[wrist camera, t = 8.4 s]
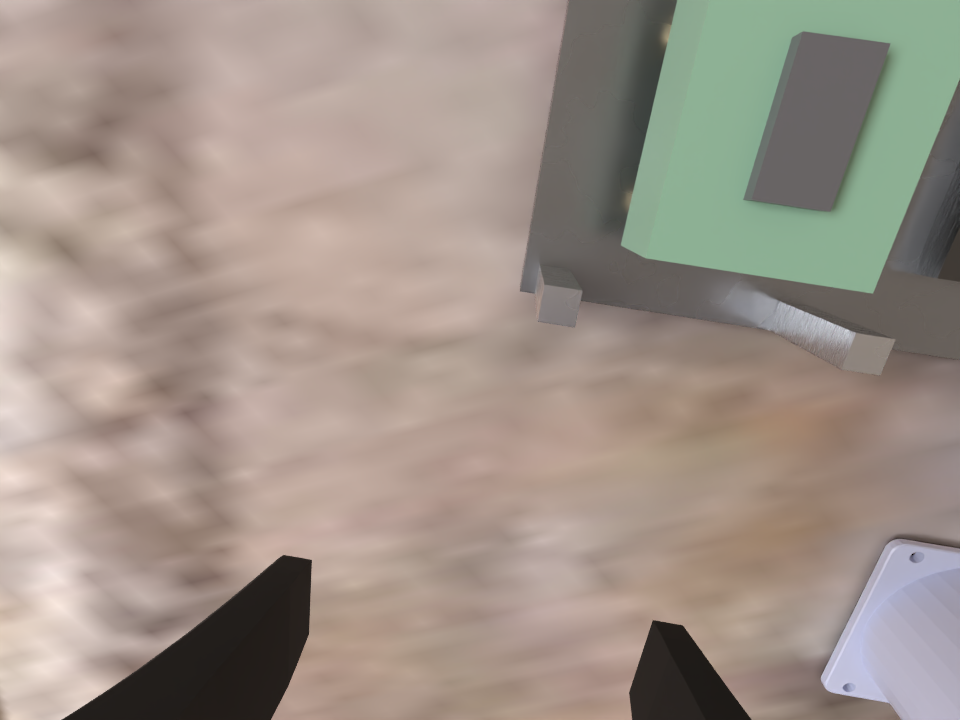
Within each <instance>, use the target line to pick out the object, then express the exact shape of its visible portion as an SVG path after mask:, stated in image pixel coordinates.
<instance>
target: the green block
mask: <svg viewBox="0 0 960 720" xmlns="http://www.w3.org/2000/svg"><path fill="white" fill-rule="evenodd" d="M959 80H960V0H677V4H676V8H675V12H674V17H673V21H672V25H671V30H670V34H669V38H668V43H667V47H666V51H665V56H664V60H663V64H662V69H661V73H660V77H659V82H658V86H657V90H656V95H655V99H654V103H653V108H652V112H651V116H650V121H649V125H648V129H647V134H646V138H645V142H644V147H643V151H642V155H641V160H640V164H639V168H638V173H637V177H636V181H635V185H634V190H633V194H632V198H631V203H630V207H629V211H628V216H627V220H626V224H625V229H624V233H623V237H622V242H621V246H623V247H625V248H627V249H629V250H631V251H633V252H634V253H636V254H638V255H640V256H642V257H644V258H647V259H653V260H660V261H666V262H673V263H679V264H686V265H692V266H698V267H705V268H711V269H718V270H724V271H731V272H737V273H744V274H750V275H756V276H763V277H769V278H776V279H782V280H789V281H795V282H802V283H808V284H814V285H821V286H827V287H834V288H840V289H847V290H853V291H860V292H866V293H872V294H873V292H874V290H875V287H876V285H877V282H878V280H879V277H880V275H881V272H882V270H883V267H884V265H885V262H886V260H887V257H888V255H889V252H890V250H891V248H892V245H893V243H894V240H895V238H896V235H897V233H898V230H899V228H900V225H901V223H902V220H903V218H904V215H905V213H906V210H907V208H908V206H909V203H910V201H911V198H912V196H913V193H914V191H915V188H916V186H917V183H918V181H919V178H920V176H921V173H922V171H923V169H924V166H925V164H926V161H927V159H928V156H929V154H930V151H931V149H932V146H933V144H934V141H935V139H936V136H937V134H938V131H939V129H940V127H941V124H942V122H943V119H944V117H945V114H946V112H947V109H948V107H949V104H950V102H951V99H952V97H953V94H954V92H955V89H956V87H957V85H958V82H959Z"/></svg>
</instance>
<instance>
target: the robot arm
mask: <svg viewBox="0 0 960 720" xmlns="http://www.w3.org/2000/svg"><path fill="white" fill-rule="evenodd" d="M915 552H916V553H915ZM913 553H915V554H914V555H912V554H913ZM911 555H912V556H911ZM311 565H312V560H309V559H303V558H298V557H292V556H286V555H283V556H282V557H280V558H278V559H277V560H276V561H275V562H274V563H273V564H271V565H270V566H269V567H268V568H267V569H265V570H264V571H263V572H262V573H261V574H260V575H258V576H257V577H256V578H255V579H254V580H252V581H251V582H250V583H249V584H248V585H247V586H245V587H244V588H243V589H242V590H241V591H239V592H238V593H237V594H236V595H235V596H233V597H232V598H231V599H230V600H228V601H227V602H226V603H225V604H224V605H222V606H221V607H220V608H219V609H217V610H216V611H215V612H214V613H212V614H211V615H210V616H208V617H207V618H206V619H205V620H203V621H202V622H201V623H200V624H198V625H197V626H196V627H195V628H193V629H192V630H191V631H190V632H188V633H187V634H186V635H184V636H183V637H182V638H180V639H179V640H178V641H176V642H175V643H174V644H172V645H171V646H169V647H168V648H167V649H165V650H164V651H163V652H161V653H160V654H159V655H157V656H156V657H154V658H153V659H152V660H150V661H149V662H148V663H146V664H145V665H143V666H142V667H141V668H139V669H138V670H137V671H135V672H134V673H132V674H131V675H129V676H128V677H126V678H125V679H123V680H122V681H121V682H119V683H118V684H116V685H115V686H113V687H112V688H110V689H109V690H107V691H106V692H104V693H103V694H101V695H100V696H98V697H97V698H95V699H93V700H92V701H90V702H89V703H87V704H86V705H84V706H83V707H81V708H80V709H78V710H76V711H75V712H73V713H72V714H70V715H69V716H67V717H65V718H64V719H62V720H271V718H272V716H273V714H274V713H275V711H276V709H277V707H278V705H279V703H280V701H281V699H282V697H283V695H284V693H285V691H286V689H287V687H288V685H289V683H290V680H291V678H292V675H293V673H294V670H295V668H296V666H297V663H298V661H299V658H300V656H301V653H302V650H303V648H304V645H305V643H306V640H307V638H308V635H309V617H310V591H311ZM821 681H822V683H823V685H824V687H825V688H826V689H827V690H828V691H829V692H832V693H837V694H843V695H848V696H854V697H859V698H865V699H871V700H876V701H882V702H887V703H890V704H891V706H892V707H893V708H894V710H895V711H896V712H897V714H898V715H899V717H900V718H901V719H902V720H960V549H959V548H953V547H947V546H941V545H935V544H929V543H923V542H918V541H912V540H906V539H896V540H892V541H890V542H889V543H888V544H887V545H886V546H885V548H884V550H883V552H882V554H881V556H880V558H879V560H878V562H877V564H876V566H875V568H874V570H873V572H872V574H871V576H870V578H869V580H868V582H867V584H866V587H865V589H864V591H863V593H862V595H861V597H860V599H859V601H858V603H857V605H856V607H855V609H854V611H853V613H852V615H851V617H850V619H849V621H848V623H847V625H846V627H845V629H844V631H843V633H842V635H841V637H840V639H839V641H838V643H837V645H836V647H835V649H834V651H833V654H832V656H831V658H830V660H829V662H828V664H827V666H826V668H825V670H824V672H823V674H822V676H821ZM629 694H630V703H631V712H632V720H751V718H750V717H749V716H748V714H747V713H746V712H745V710H744V709H743V708H742V706H741V705H740V704H739V702H738V701H737V700H736V698H735V697H734V696H733V694H732V693H731V692H730V690H729V689H728V687H727V686H726V685H725V683H724V682H723V681H722V679H721V678H720V676H719V675H718V674H717V672H716V671H715V670H714V668H713V667H712V665H711V664H710V663H709V661H708V660H707V658H706V657H705V656H704V654H703V653H702V651H701V650H700V649H699V647H698V646H697V644H696V643H695V642H694V640H693V639H692V638H691V636H690V635H689V633H688V632H687V631H686V629H685V628H684V627H683V625H677V624H671V623H666V622H660V621H654V620H653V622H652V625H651V628H650V631H649V634H648V637H647V640H646V643H645V646H644V649H643V652H642V655H641V658H640V661H639V664H638V667H637V671H636V674H635V677H634V680H633V683H632V686H631V689H630V692H629Z"/></svg>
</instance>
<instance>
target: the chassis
mask: <svg viewBox="0 0 960 720" xmlns="http://www.w3.org/2000/svg"><path fill="white" fill-rule="evenodd" d="M676 4H677V0H568V6H567V12H566V18H565V23H564V29H563V35H562V41H561V47H560V53H559V59H558V65H557V71H556V77H555V83H554V89H553V95H552V101H551V107H550V112H549V118H548V124H547V130H546V136H545V142H544V148H543V154H542V160H541V166H540V172H539V178H538V184H537V190H536V195H535V201H534V207H533V213H532V219H531V225H530V231H529V237H528V243H527V249H526V255H525V261H524V267H523V273H522V279H521V284H520V291H522V292H528V293H534V294H535V303H536V312H537V321H538V322H543V323H549V324H556V325H562V326H568V327H575V325H576V320H577V315H578V310H579V306H580V301H586V302H592V303H598V304H605V305H611V306H618V307H624V308H630V309H637V310H643V311H650V312H656V313H663V314H669V315H675V316H682V317H688V318H695V319H701V320H707V321H714V322H720V323H727V324H733V325H739V326H746V327H752V328H759V329H765V330H770V331H772V332H774V333H776V334H777V335H779V336H781V337H783V338H785V339H787V340H788V341H790V342H792V343H794V344H796V345H797V346H799V347H801V348H803V349H805V350H807V351H808V352H810V353H812V354H814V355H816V356H817V357H819V358H821V359H823V360H825V361H827V362H828V363H830V364H832V365H834V366H836V367H837V368H839V369H841V370H847V371H853V372H860V373H866V374H872V375H879V376H880V375H881V372H882V370H883V368H884V366H885V363H886V361H887V359H888V356H889V354H890V352H891V349H893V350H900V351H906V352H912V353H919V354H925V355H932V356H938V357H945V358H951V359H957V360H960V80H959V82H958V85H957V87H956V89H955V92H954V94H953V97H952V99H951V102H950V104H949V107H948V109H947V112H946V114H945V117H944V119H943V122H942V124H941V127H940V129H939V131H938V134H937V136H936V139H935V141H934V144H933V146H932V149H931V151H930V154H929V156H928V159H927V161H926V164H925V166H924V169H923V171H922V173H921V176H920V178H919V181H918V183H917V186H916V188H915V191H914V193H913V196H912V198H911V201H910V203H909V206H908V208H907V210H906V213H905V215H904V218H903V220H902V223H901V225H900V228H899V230H898V233H897V235H896V238H895V240H894V243H893V245H892V248H891V250H890V252H889V255H888V257H887V260H886V262H885V265H884V267H883V270H882V272H881V275H880V277H879V280H878V282H877V285H876V287H875V290H874V292H873V294H872V293H866V292H860V291H853V290H847V289H840V288H834V287H827V286H821V285H814V284H808V283H802V282H795V281H789V280H782V279H776V278H769V277H763V276H756V275H750V274H744V273H737V272H731V271H724V270H718V269H711V268H705V267H698V266H692V265H686V264H679V263H673V262H666V261H660V260H653V259H647V258H644V257H642V256H640V255H638V254H636V253H634V252H633V251H631V250H629V249H627V248H625V247H623V246H621V242H622V237H623V233H624V229H625V224H626V220H627V216H628V211H629V207H630V203H631V198H632V194H633V190H634V185H635V181H636V177H637V173H638V168H639V164H640V160H641V155H642V151H643V147H644V142H645V138H646V134H647V129H648V125H649V121H650V116H651V112H652V108H653V103H654V99H655V95H656V90H657V86H658V82H659V77H660V73H661V69H662V64H663V60H664V56H665V51H666V47H667V43H668V38H669V34H670V30H671V25H672V21H673V17H674V12H675V8H676Z"/></svg>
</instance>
